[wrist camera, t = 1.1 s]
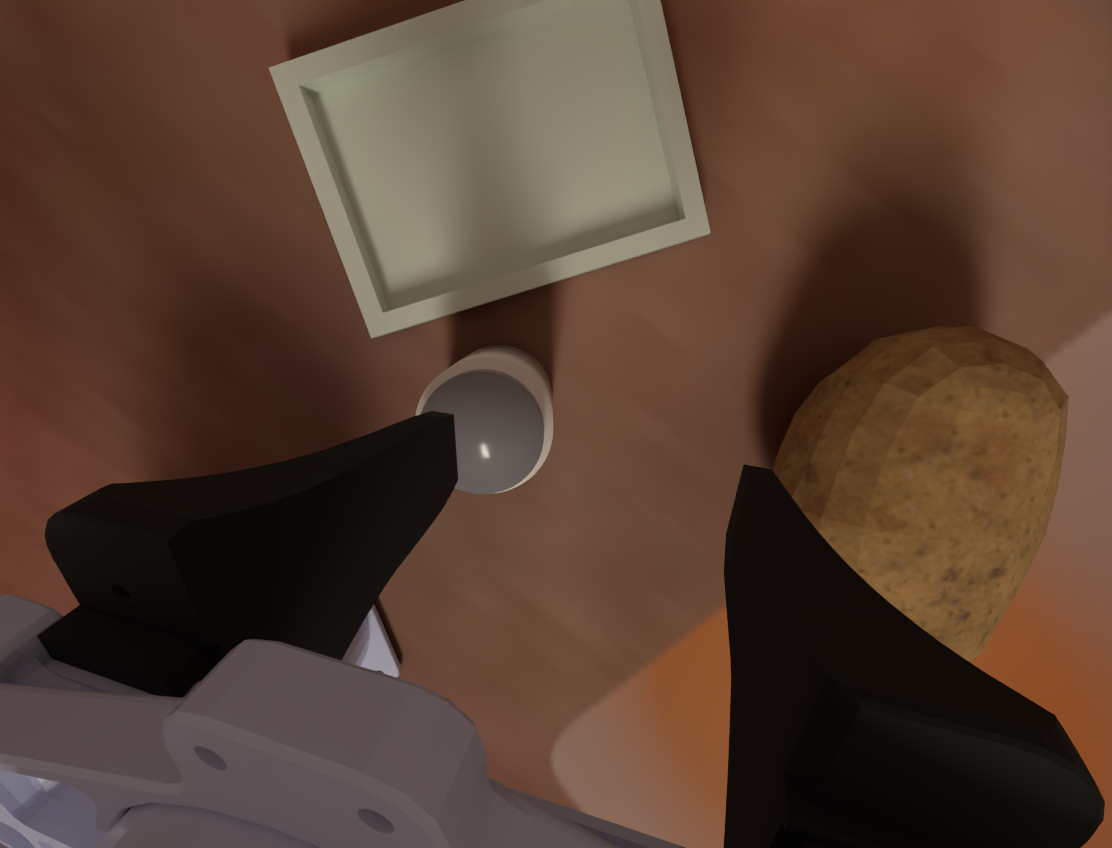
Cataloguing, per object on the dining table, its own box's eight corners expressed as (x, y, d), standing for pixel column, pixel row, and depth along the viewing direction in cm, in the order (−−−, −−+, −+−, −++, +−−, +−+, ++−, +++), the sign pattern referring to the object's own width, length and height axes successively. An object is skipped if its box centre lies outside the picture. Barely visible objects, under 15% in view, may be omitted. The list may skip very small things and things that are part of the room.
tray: (383, 335, 22) (371, 338, 21) (290, 85, 20) (268, 67, 18) (699, 238, 22) (710, 233, 20) (639, -34, 19) (647, -63, 18)
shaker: (468, 457, 24) (437, 519, 17) (434, 361, 23) (387, 386, 16) (564, 429, 23) (570, 480, 17) (534, 331, 22) (528, 344, 16)
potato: (715, 601, 26) (787, 733, 18) (761, 311, 22) (874, 316, 14) (907, 612, 26) (1062, 746, 18) (980, 327, 23) (1208, 341, 15)
